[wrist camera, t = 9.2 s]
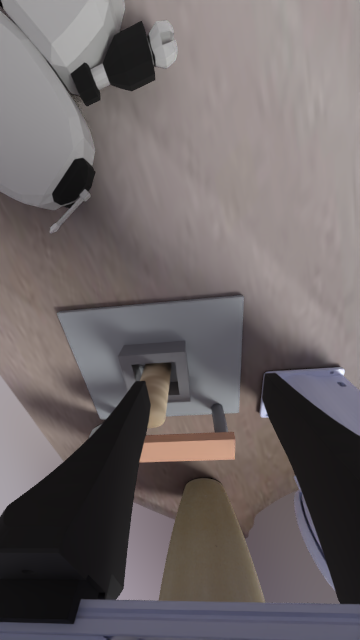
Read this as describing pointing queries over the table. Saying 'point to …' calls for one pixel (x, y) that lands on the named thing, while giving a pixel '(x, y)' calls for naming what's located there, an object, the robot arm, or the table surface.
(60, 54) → the robot toy
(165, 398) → the peg
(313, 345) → the table surface
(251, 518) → the table surface
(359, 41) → the table surface
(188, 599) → the plant pot
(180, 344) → the socket station
